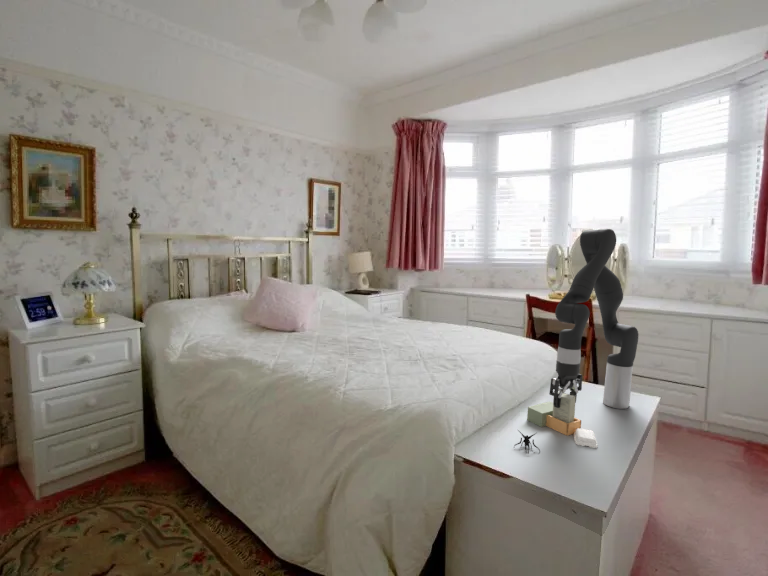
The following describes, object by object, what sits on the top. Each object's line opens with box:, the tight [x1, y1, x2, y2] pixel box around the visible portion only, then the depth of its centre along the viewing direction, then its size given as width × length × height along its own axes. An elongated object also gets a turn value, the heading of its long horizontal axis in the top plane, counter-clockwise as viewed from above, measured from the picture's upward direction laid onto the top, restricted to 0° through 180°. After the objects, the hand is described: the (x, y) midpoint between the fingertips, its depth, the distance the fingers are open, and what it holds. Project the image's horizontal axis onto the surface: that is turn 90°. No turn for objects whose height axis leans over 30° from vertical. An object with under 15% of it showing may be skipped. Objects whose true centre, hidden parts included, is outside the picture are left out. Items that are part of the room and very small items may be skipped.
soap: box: [573, 428, 598, 449], centre depth 141 cm, size 9×7×3 cm
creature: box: [513, 429, 541, 455], centre depth 133 cm, size 8×5×8 cm
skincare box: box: [552, 391, 577, 423], centre depth 149 cm, size 6×4×12 cm
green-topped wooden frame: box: [526, 401, 582, 437], centre depth 151 cm, size 12×15×5 cm
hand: (564, 404), depth 148 cm, fingers open, 8 cm apart
